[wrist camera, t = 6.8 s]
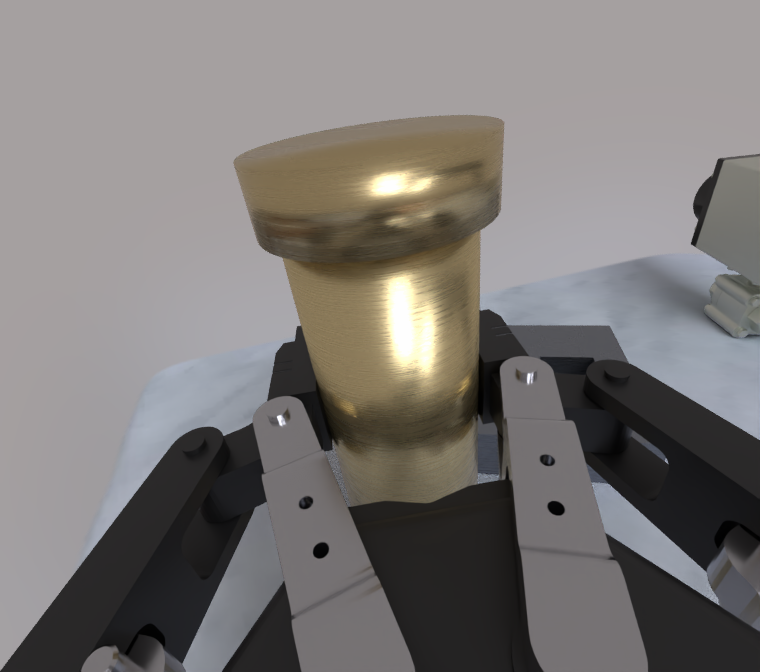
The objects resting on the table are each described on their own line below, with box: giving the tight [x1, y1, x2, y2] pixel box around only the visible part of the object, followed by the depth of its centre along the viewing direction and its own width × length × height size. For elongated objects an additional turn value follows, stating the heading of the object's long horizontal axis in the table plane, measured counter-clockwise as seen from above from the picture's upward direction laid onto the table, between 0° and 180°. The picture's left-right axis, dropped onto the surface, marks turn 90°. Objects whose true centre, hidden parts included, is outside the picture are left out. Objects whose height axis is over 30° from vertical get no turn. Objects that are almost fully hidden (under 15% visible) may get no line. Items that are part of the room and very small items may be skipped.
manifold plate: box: [478, 326, 666, 483], centre depth 25 cm, size 14×10×3 cm
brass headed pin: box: [234, 115, 504, 507], centre depth 12 cm, size 5×5×15 cm
